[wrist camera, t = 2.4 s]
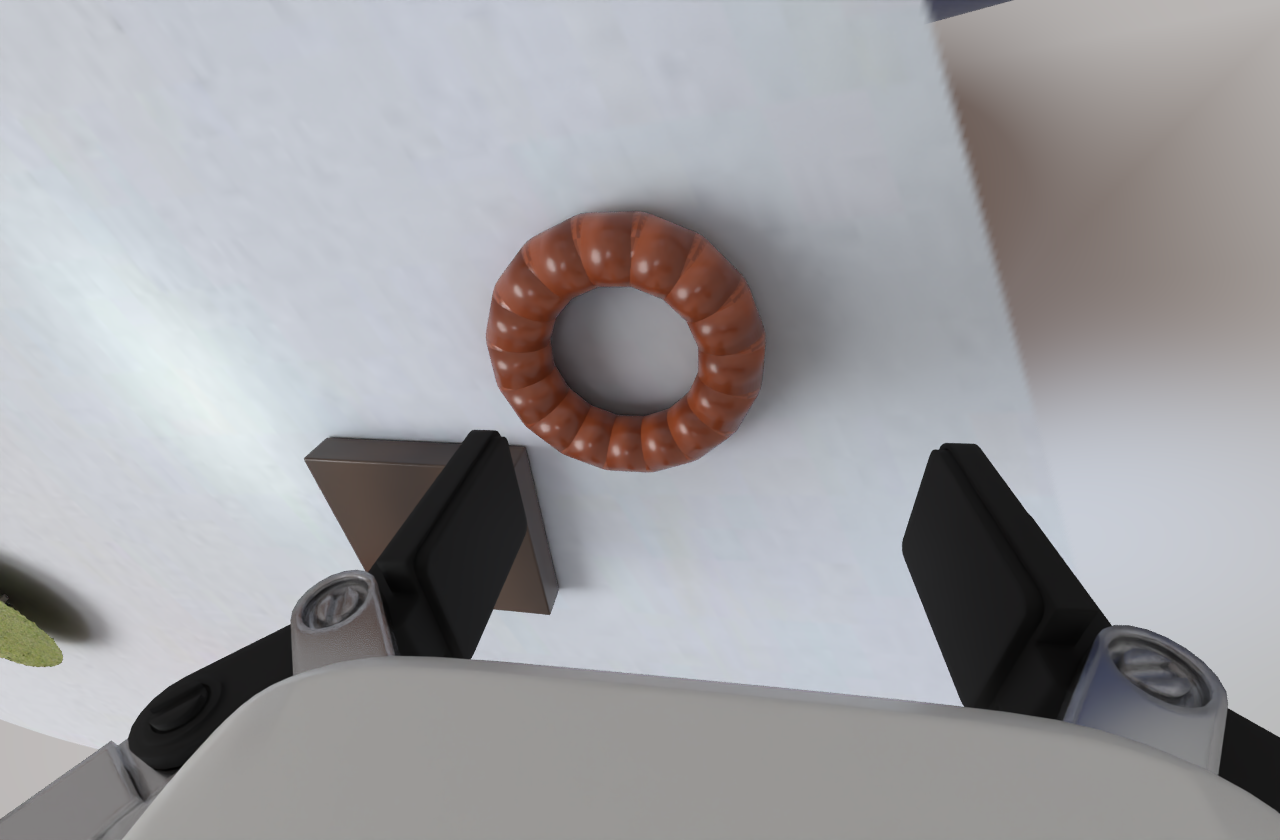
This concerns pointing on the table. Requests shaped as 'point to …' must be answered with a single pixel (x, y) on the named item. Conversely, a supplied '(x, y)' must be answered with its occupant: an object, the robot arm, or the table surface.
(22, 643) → the green disc with hole
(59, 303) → the table surface
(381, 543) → the peg stand
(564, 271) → the ring
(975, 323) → the table surface
